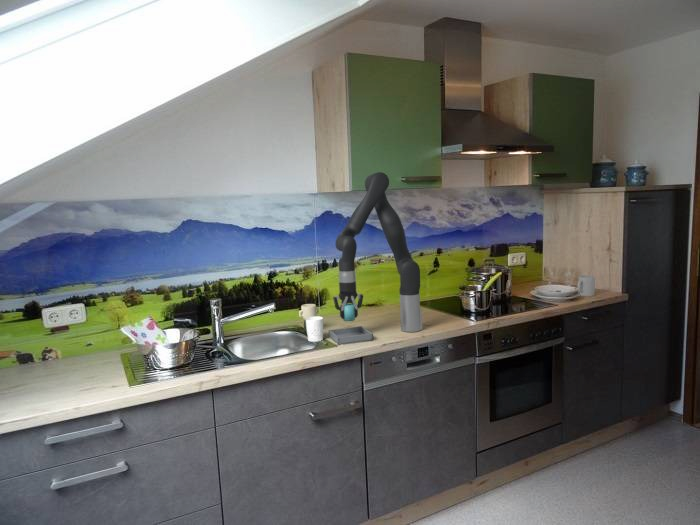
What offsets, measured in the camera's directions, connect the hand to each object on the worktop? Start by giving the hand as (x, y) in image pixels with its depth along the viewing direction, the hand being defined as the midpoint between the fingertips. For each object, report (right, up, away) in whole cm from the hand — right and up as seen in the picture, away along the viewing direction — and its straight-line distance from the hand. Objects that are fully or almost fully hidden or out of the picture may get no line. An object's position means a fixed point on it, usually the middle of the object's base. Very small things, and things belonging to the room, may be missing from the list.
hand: (349, 317), depth 227 cm
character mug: (-19, -9, +17) cm, 27 cm away
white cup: (-15, -10, +2) cm, 18 cm away
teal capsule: (0, -1, 0) cm, 1 cm away
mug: (+138, +5, +70) cm, 155 cm away
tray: (+1, -9, +1) cm, 9 cm away
